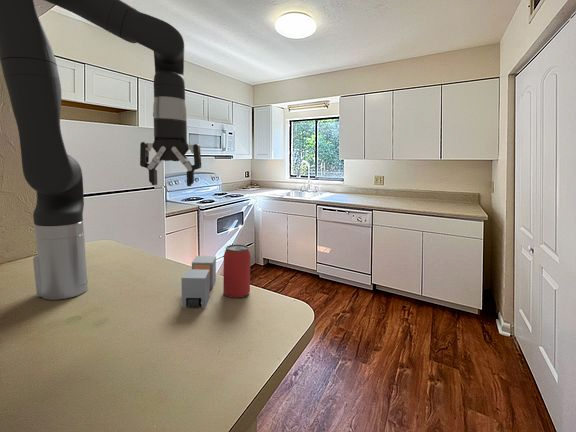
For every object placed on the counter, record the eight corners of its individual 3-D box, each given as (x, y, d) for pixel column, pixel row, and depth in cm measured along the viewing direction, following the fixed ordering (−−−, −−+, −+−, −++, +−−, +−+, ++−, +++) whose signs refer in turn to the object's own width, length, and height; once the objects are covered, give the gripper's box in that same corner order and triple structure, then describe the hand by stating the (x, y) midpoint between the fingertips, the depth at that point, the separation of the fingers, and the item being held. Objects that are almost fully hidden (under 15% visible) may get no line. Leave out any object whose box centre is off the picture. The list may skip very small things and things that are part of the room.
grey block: (182, 307, 71) (181, 278, 70) (188, 296, 77) (187, 268, 76) (205, 307, 72) (205, 278, 70) (209, 296, 77) (209, 269, 76)
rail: (187, 307, 71) (187, 299, 71) (201, 280, 87) (201, 273, 86) (198, 307, 71) (198, 299, 71) (210, 280, 87) (210, 273, 87)
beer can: (244, 300, 76) (245, 252, 74) (219, 297, 77) (219, 249, 75) (253, 289, 82) (254, 245, 80) (229, 286, 84) (229, 242, 81)
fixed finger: (191, 289, 81) (191, 263, 80) (196, 280, 87) (196, 255, 86) (212, 289, 82) (212, 263, 80) (215, 280, 87) (215, 256, 86)
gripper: (203, 122, 81) (203, 185, 84) (145, 119, 80) (148, 183, 83) (196, 118, 74) (197, 187, 77) (133, 115, 73) (136, 185, 75)
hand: (171, 185), depth 80 cm, fingers open, 8 cm apart
